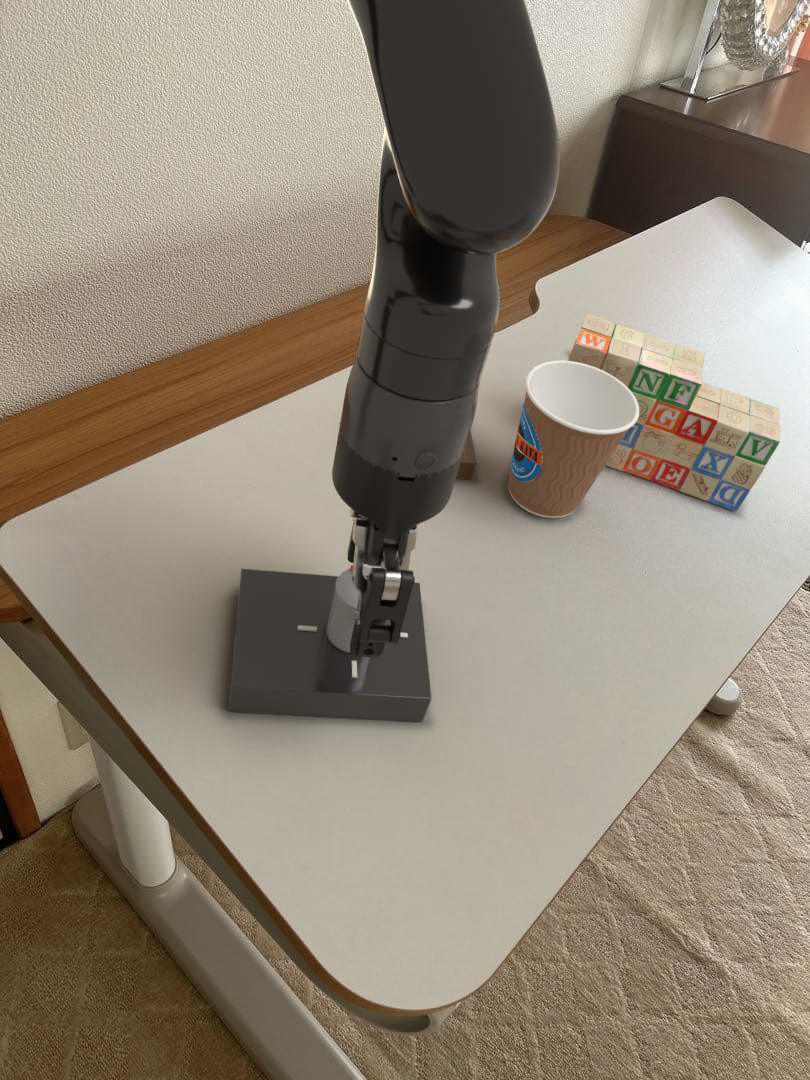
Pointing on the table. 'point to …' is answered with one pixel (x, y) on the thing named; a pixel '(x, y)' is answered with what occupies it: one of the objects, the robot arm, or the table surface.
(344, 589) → the stove knob
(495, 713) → the table surface
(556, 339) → the table surface
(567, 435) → the coffee cup
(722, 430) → the stack of blocks
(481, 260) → the robot arm
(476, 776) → the table surface
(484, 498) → the table surface
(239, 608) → the stove panel
